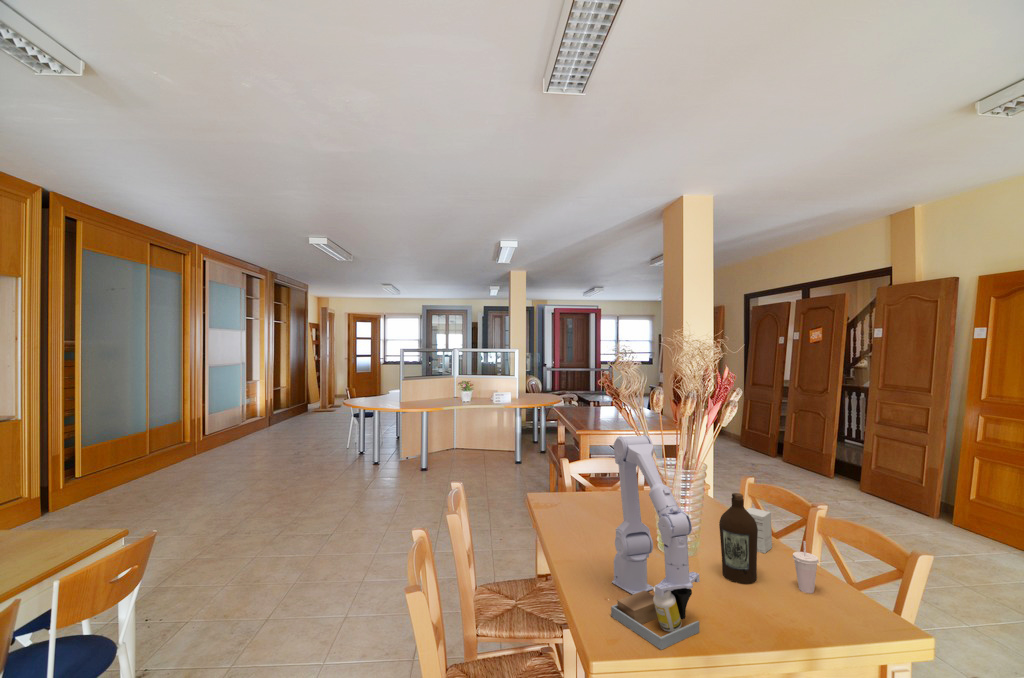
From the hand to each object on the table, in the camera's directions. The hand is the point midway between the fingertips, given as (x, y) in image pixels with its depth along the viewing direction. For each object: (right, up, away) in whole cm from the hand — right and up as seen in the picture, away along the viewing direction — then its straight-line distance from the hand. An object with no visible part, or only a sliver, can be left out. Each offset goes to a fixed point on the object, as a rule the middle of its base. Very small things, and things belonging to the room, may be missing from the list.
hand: (679, 617), depth 117 cm
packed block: (-9, -2, +5) cm, 10 cm away
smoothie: (+43, -3, +18) cm, 46 cm away
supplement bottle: (-2, -2, 0) cm, 3 cm away
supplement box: (+45, -4, +48) cm, 65 cm away
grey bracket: (-7, -2, +1) cm, 7 cm away
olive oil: (+27, -3, +26) cm, 38 cm away
